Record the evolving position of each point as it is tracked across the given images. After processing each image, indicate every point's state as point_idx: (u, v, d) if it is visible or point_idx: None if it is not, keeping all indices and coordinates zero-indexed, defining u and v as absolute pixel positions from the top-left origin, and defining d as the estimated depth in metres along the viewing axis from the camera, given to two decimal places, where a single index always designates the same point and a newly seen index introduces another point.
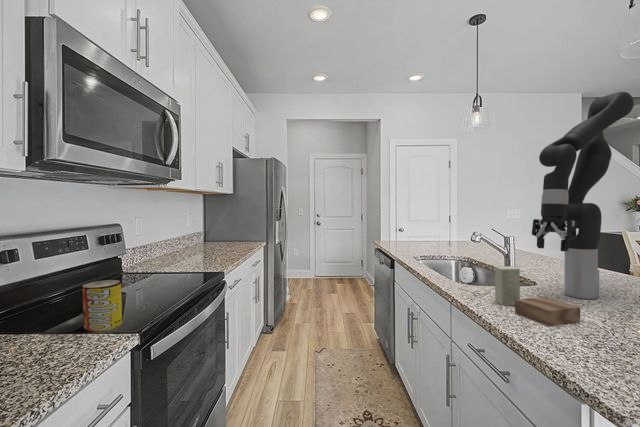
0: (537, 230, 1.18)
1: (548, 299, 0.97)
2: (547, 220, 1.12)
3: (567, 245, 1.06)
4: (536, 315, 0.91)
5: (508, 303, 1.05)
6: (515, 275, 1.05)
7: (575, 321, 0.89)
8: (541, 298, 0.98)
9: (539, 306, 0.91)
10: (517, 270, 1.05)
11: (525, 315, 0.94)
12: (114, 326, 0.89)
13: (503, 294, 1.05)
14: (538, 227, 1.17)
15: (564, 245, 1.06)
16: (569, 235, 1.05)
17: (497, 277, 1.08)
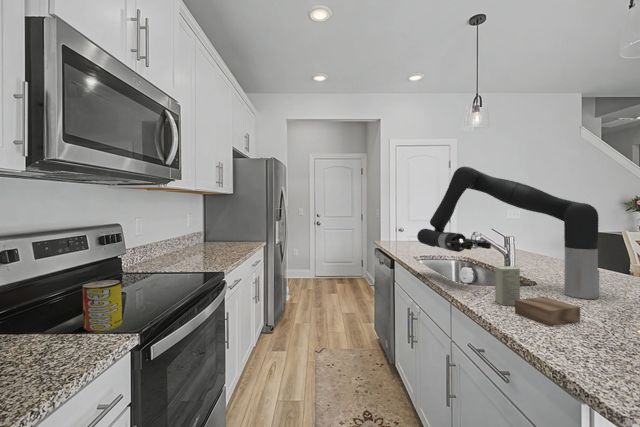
0: None
1: (548, 299, 0.97)
2: None
3: (464, 246, 1.19)
4: (537, 315, 0.91)
5: (508, 303, 1.05)
6: (515, 275, 1.05)
7: (575, 321, 0.89)
8: (541, 298, 0.99)
9: (539, 306, 0.91)
10: (517, 270, 1.05)
11: (525, 315, 0.94)
12: (114, 326, 0.89)
13: (503, 294, 1.05)
14: (478, 242, 1.27)
15: (465, 248, 1.19)
16: None
17: (497, 277, 1.08)
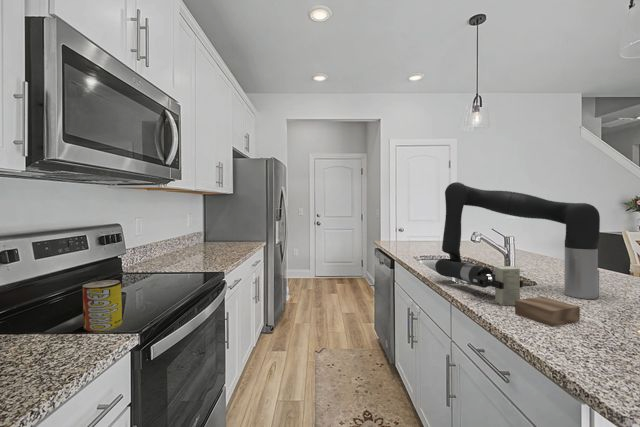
0: None
1: (547, 299, 0.98)
2: None
3: (495, 284, 1.06)
4: (538, 315, 0.90)
5: (508, 303, 1.05)
6: (515, 275, 1.05)
7: (575, 321, 0.90)
8: (540, 298, 0.99)
9: (540, 306, 0.91)
10: (517, 270, 1.05)
11: (526, 315, 0.94)
12: (114, 326, 0.89)
13: (503, 294, 1.05)
14: None
15: (496, 287, 1.06)
16: None
17: (497, 277, 1.08)
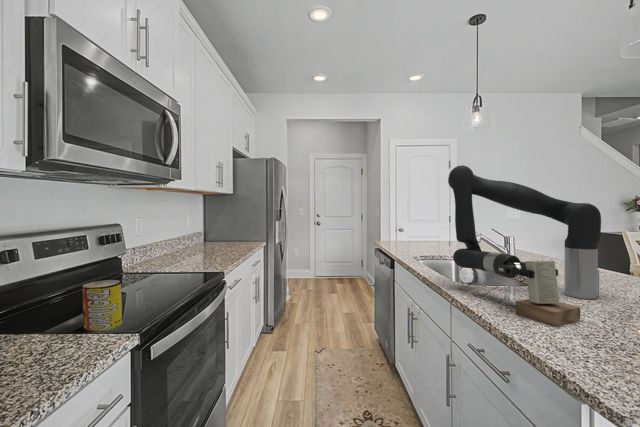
0: None
1: None
2: None
3: (524, 273, 0.94)
4: (540, 316, 0.90)
5: (545, 301, 0.91)
6: (550, 268, 0.92)
7: (576, 321, 0.90)
8: None
9: (542, 307, 0.90)
10: (552, 262, 0.93)
11: (527, 317, 0.93)
12: (114, 326, 0.89)
13: (538, 291, 0.92)
14: None
15: (525, 276, 0.94)
16: (511, 275, 0.97)
17: None
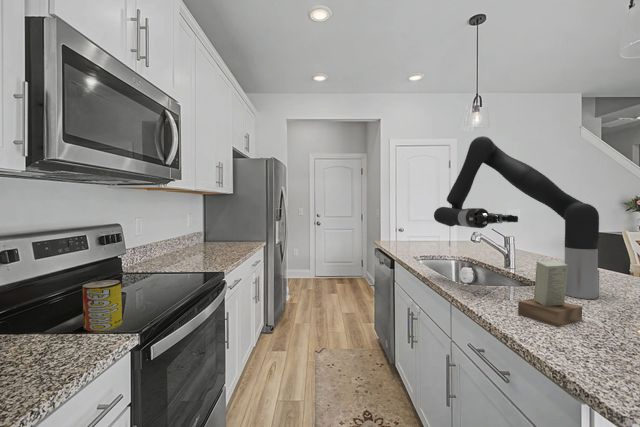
0: None
1: None
2: None
3: (489, 219, 1.10)
4: (542, 316, 0.90)
5: (552, 303, 0.91)
6: (563, 272, 0.89)
7: (578, 320, 0.90)
8: None
9: (545, 307, 0.90)
10: (565, 267, 0.89)
11: (530, 317, 0.93)
12: (114, 326, 0.89)
13: (547, 294, 0.91)
14: (503, 217, 1.18)
15: (490, 221, 1.10)
16: (478, 222, 1.13)
17: (539, 274, 0.92)
